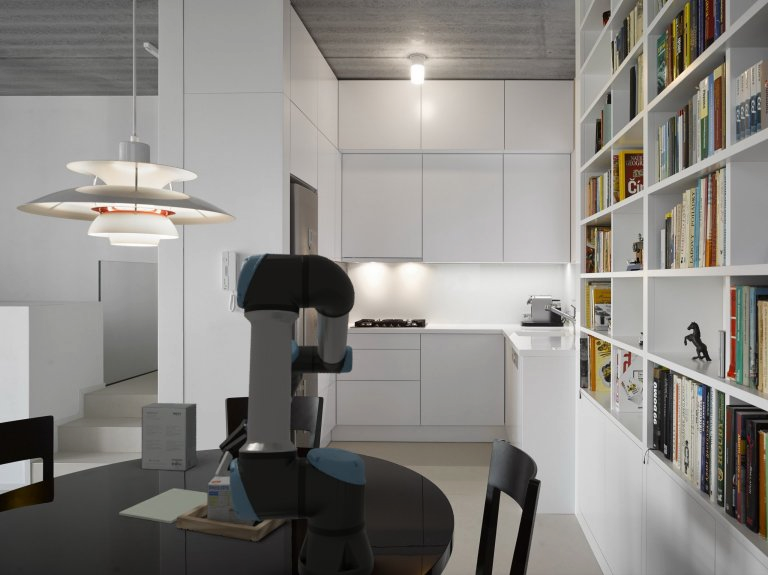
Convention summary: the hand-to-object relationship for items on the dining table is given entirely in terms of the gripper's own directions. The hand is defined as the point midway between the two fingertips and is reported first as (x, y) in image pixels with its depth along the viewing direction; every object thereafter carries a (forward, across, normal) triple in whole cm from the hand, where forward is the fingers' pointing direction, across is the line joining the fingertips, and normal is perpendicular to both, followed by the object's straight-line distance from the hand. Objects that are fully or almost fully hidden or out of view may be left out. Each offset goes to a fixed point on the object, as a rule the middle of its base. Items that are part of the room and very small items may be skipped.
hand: (241, 480), depth 144 cm
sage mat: (+6, +21, -7) cm, 23 cm away
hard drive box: (-13, +46, -27) cm, 55 cm away
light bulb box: (+10, -1, -4) cm, 11 cm away
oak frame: (+10, -1, -3) cm, 10 cm away
